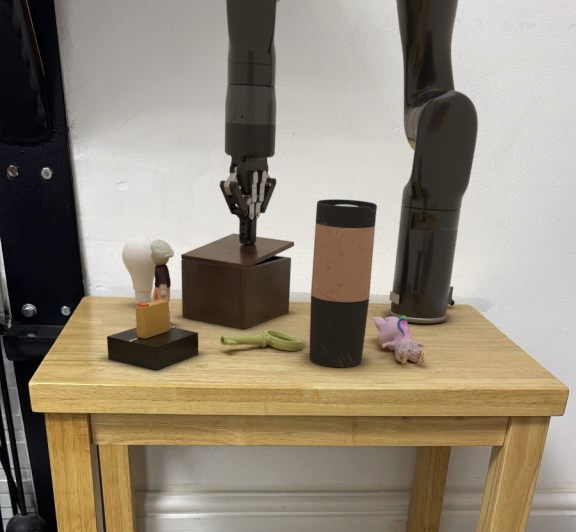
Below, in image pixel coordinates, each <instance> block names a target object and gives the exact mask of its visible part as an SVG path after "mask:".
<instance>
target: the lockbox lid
mask: <svg viewBox="0 0 576 532" xmlns="http://www.w3.org/2000/svg"><path fill="white" fill-rule="evenodd" d="M293 247H295V241H291V240H284V239H276V238H271V237H263V236H256V242H255V243H254V244H250V245H247V244H241V243H240V241H239V233H234V232H233V233H230V234H228V235H226V236H223V237H221V238H218V239H216V240H214V241H211V242H209V243H207V244H204V245H202V246H199V247H196V248H194V249H191V250H189V251H187V252H184V253H182V254H180V259H181V260H182V259H184V260H190V261H196V262H202V263H209V264H215V265H221V266H227V267H234V268H240V269H247V268H249V267H251V266H253V265H255V264H257V263H260V262H262V261H264V260H266V259H268V258H270V257H272V256H274V255H276V256H277V255H279V254H281V253H283V252H285V251H287V250H289V249H291V248H293Z"/></svg>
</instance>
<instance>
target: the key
mask: <svg viewBox="0 0 576 532" xmlns="http://www.w3.org/2000/svg"><path fill="white" fill-rule="evenodd" d="M219 341H220V344H221V345H222V346H229V347H232V346H233V347H237V346H248V345H251V346H253V345H256V346H257V345H258V346H259V347H261V348H265V347H267V345H269V346H271V347H273V348H276V349H280V350H283V351H291V352H293V351H300V350H301V349H302V347H303V340H301V339H299V338H298V337H296V336H294V335H291V334H289V333H286V332H283V331H280V330H274V329H265V330H263V331H262V332H261V333H259V335H221V336H220V340H219Z"/></svg>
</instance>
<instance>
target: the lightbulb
mask: <svg viewBox="0 0 576 532" xmlns="http://www.w3.org/2000/svg"><path fill="white" fill-rule="evenodd" d="M153 241H154V240H153V239H151V238H150V237H148V236H144V235H137V236H133V237H132V238H130V239H128V240H127V242H126V243H125V244H124V246H123V248H122V252H121V257H122V262H123V264H124V266H125V269H126V271H127V272H128V273H129V276H130V277H131V282H132V288H133V291H134V298H135V303H137V304H139V303H149V302H152V296H153V290H154V281H155V275H154V272H155V266H156V264H155V263H154V262H153V261H152V259H151V253H152V251H151V244H152V242H153Z"/></svg>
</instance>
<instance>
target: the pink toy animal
mask: <svg viewBox="0 0 576 532" xmlns="http://www.w3.org/2000/svg"><path fill="white" fill-rule="evenodd" d="M372 320H373V324H374V326H375V328H376V329H377V331H378V335H377V342H378V343H379V344H380V345H381V348H383V349H385V348H388V349H389V351H394V356H395V359H396V361H397V362H399V363H401V364H402V365H403V368H404V367H405V364H406V365H409V362H408V361H410V362H412V363H417V364H418V365H419V364H420V366H421V367H423V365H425V364H426V363H425V358H424V353H423V350H422V349H420V348H424V347H425V343H423V342H418V341H415V340H413V335H412V333H410V330H409V324H408V323H409V322H407V320H406V317H405V316H404V315H403V316H401V317H400V318H397V317H394V316H392V317H391V316H387V317H385V318H382V317H381V316H373V318H372ZM422 364H423V365H422Z"/></svg>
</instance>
